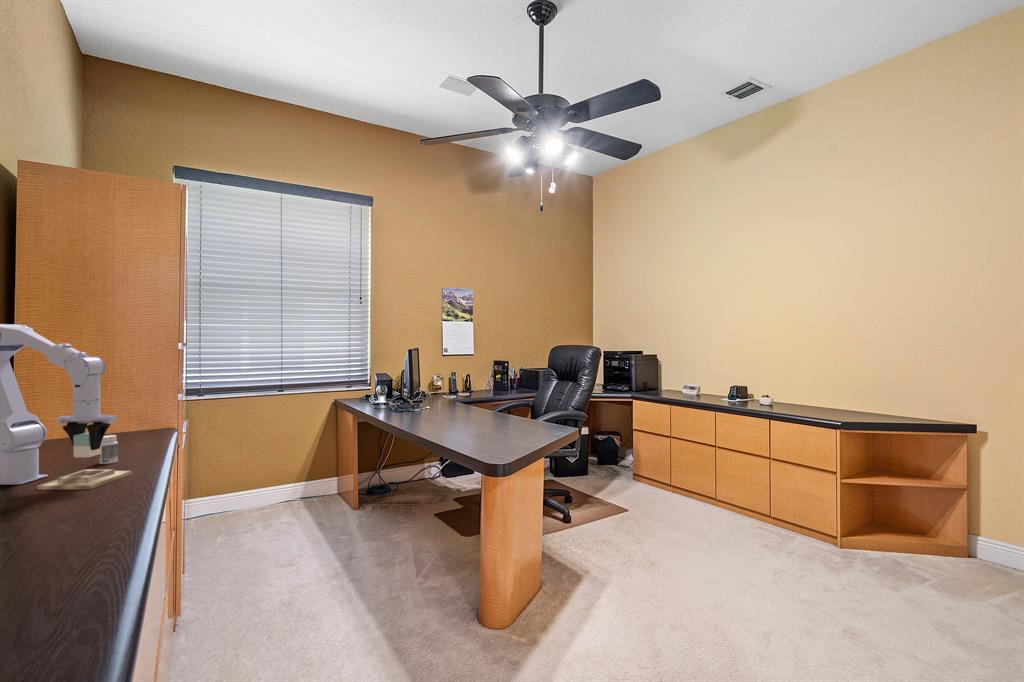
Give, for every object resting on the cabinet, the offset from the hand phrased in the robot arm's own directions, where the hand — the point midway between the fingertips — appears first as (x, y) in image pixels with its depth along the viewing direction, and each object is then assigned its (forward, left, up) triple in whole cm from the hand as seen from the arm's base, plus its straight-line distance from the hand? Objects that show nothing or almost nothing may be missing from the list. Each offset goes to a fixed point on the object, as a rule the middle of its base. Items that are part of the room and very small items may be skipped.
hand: (87, 449), depth 134 cm
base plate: (0, 0, -9) cm, 9 cm away
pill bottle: (-11, +21, -9) cm, 25 cm away
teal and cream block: (0, 0, -2) cm, 2 cm away
